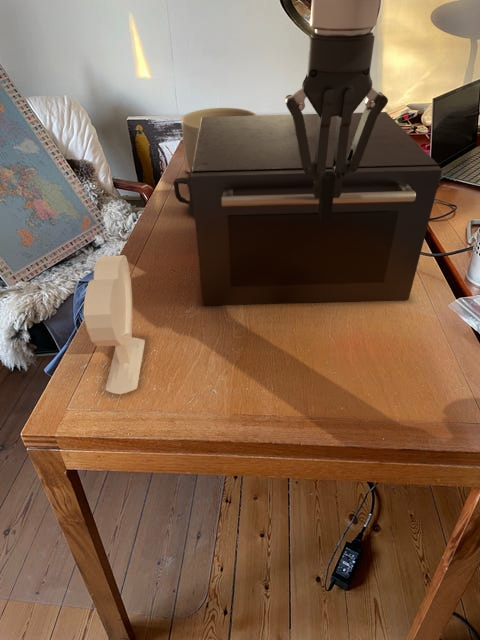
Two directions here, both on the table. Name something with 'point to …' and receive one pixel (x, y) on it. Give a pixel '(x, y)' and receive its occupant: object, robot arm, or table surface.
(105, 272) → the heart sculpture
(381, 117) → the oven
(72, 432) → the table surface
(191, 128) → the planter
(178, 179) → the mug
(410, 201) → the oven door
